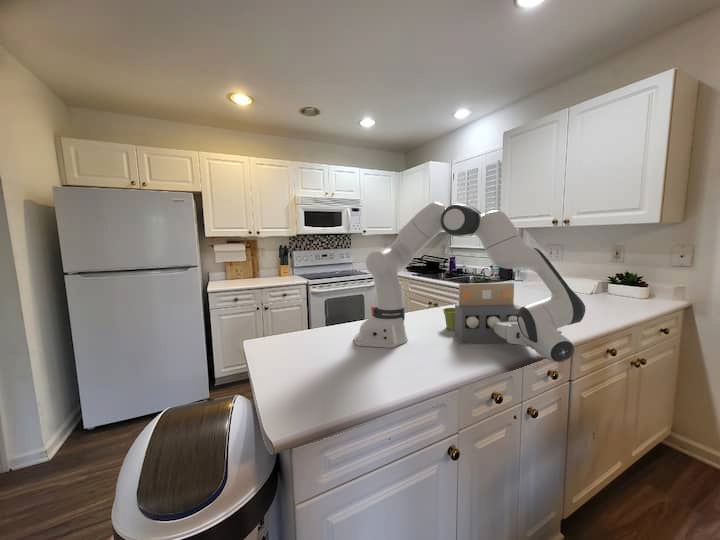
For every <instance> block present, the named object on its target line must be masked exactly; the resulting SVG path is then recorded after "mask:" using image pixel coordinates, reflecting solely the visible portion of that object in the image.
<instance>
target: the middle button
mask: <svg viewBox="0 0 720 540" xmlns="http://www.w3.org/2000/svg"><path fill="white" fill-rule="evenodd" d="M495 322H501V321H500V320H499V319H498V318H497V317H495V316H493V315H490V316H488V317H487V318H486V323H487V325H489V326H490V327H491V328H493V329H494V323H495Z"/></svg>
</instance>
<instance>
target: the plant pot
mask: <svg viewBox="0 0 720 540" xmlns="http://www.w3.org/2000/svg"><path fill="white" fill-rule="evenodd" d="M442 312H443V314H444V319H445V325H446V329H448V330H450V331H451V330H452V331H455V307H446V308H443V309H442Z"/></svg>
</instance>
